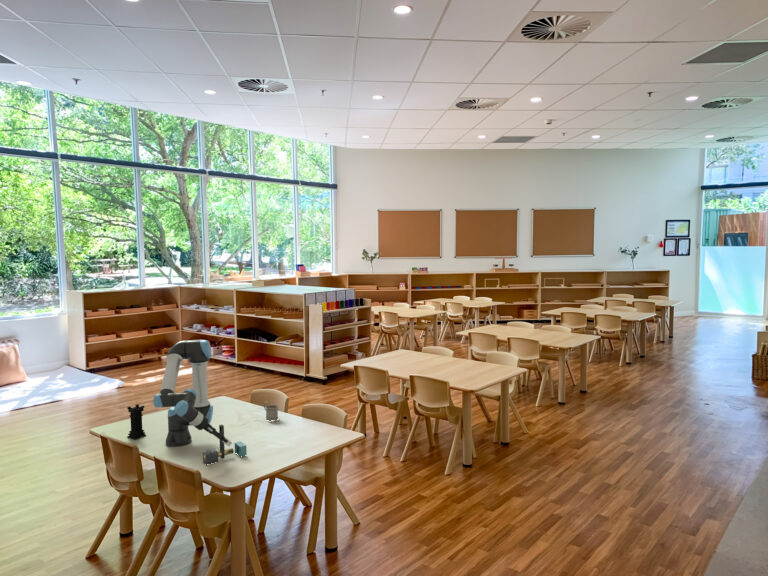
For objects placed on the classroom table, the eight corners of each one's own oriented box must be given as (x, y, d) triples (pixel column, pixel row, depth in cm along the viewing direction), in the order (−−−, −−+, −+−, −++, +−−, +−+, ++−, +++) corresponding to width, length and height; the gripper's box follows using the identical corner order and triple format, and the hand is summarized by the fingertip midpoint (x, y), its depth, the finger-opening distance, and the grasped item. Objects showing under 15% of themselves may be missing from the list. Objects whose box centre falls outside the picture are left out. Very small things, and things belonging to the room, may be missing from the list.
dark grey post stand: (203, 461, 286) (202, 428, 284) (231, 454, 296) (230, 422, 295) (205, 463, 283) (204, 429, 282) (233, 455, 294) (232, 423, 292)
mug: (281, 419, 361) (281, 403, 360) (270, 423, 354) (270, 406, 353) (269, 415, 371) (269, 399, 370) (258, 418, 363) (258, 402, 363)
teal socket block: (234, 453, 300) (234, 442, 300) (240, 451, 302) (240, 441, 302) (240, 457, 293) (240, 447, 293) (246, 456, 296) (246, 445, 295)
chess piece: (138, 433, 334) (137, 404, 333) (146, 435, 330) (145, 405, 328) (127, 437, 327) (126, 407, 326) (134, 439, 323) (133, 409, 322)
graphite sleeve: (202, 462, 287) (202, 451, 286) (214, 459, 291) (214, 448, 291) (206, 465, 282) (205, 454, 282) (218, 462, 287) (218, 451, 286)
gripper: (187, 421, 289) (214, 441, 300) (201, 432, 271) (230, 453, 281) (196, 410, 292) (223, 430, 303) (211, 420, 274) (239, 441, 284)
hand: (226, 441), depth 292 cm, fingers open, 11 cm apart
